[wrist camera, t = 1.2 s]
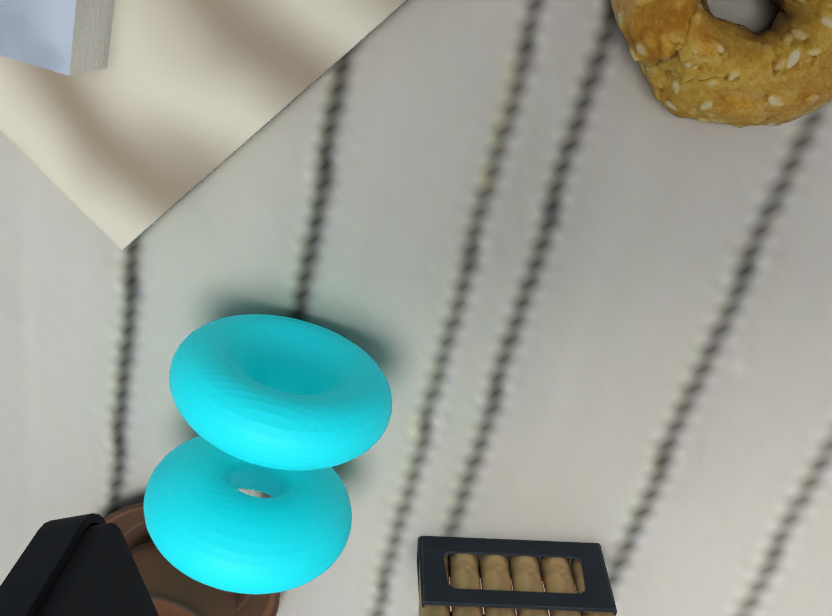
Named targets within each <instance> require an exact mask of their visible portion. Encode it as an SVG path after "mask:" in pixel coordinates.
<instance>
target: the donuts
mask: <svg viewBox="0 0 832 616" xmlns="http://www.w3.org/2000/svg"><path fill="white" fill-rule="evenodd" d="M169 378H170V389H171V393H172V396H173V399H174V402H175V404H176V407H177V408H178V410H179V412H180V413H181V415H182V416H183V418H184V419H185V420H186V422H187V423H188V424H189V425H190V426H191V428H192V429H193V430H194V431H195V432H196V433H198V434H199V435H200V436H197V437H194V438H192V439H190V440H188V441H186V442H184V443H183V444H181V445H180V446H178V447H176V448H175V449H174V450H172V451H171V452H170V453H169V454H167V455H166V457H165V458H164V459H163V460H162V461H161V462H160V463H159V464H158V466H157V467H156V468H155V470H154V471H153V473H152V475H151V477H150V479H149V482H148V484H147V487H146V491H145V497H144V517H145V523H146V526H147V530H148V532H149V534H150V537H151V538H152V540H153V542H154V544H155V545H156V547H157V549H158V550H159V551H160V552H161V554H162V555H163V556H164V557H165V558H166V559H167V560H168V561H169V562H170V563H171V564H172V565H173V566H174V567H175V568H177V569H178V570H179V571H181V572H182V573H184V574H185V575H187V576H189V577H190V578H192V579H194V580H196V581H198V582H201V583H203V584H205V585H208V586H211V587H214V588H217V589H221V590H224V591H229V592H235V593H243V594H269V593H277V592H282V591H286V590H290V589H293V588H296V587H299V586H301V585H304V584H306V583H308V582H310V581H311V580H313V579H315V578H316V577H318V576H319V575H321V574H322V573H324V572H325V571H326V570H327V569H328V568H329V567H330V566H331V565H332V564H333V563H334V562H335V561H336V559H337V558H338V557H339V555H340V554H341V552H342V551H343V549H344V547H345V545H346V543H347V540H348V537H349V534H350V530H351V521H352V511H351V505H350V500H349V496H348V493H347V490H346V488H345V486H344V484H343V482H342V481H341V479H340V477H339V476H338V474H337V473H336V471H335V470H334V469H333V468H332V467H333V466H337V465H340V464H343V463H345V462H348V461H350V460H352V459H354V458H356V457H358V456H360V455H362V454H363V453H365V452H366V451H367V450H369V449H370V448H371V447H372V446H373V445H374V444H375V443H376V442H377V441H378V440H379V439H380V437H381V436H382V434H383V433H384V431H385V429H386V428H387V425H388V423H389V420H390V416H391V412H392V395H391V391H390V387H389V384H388V381H387V379H386V377H385V375H384V373H383V372H382V370H381V368H380V367H379V366H378V365H377V363H376V362H375V361H374V360H373V359H372V358H371V357H370V356H369V355H368V354H367V353H366V352H365V351H364V350H363V349H361V348H360V347H359V346H357V345H356V344H354V343H353V342H351V341H350V340H348V339H346V338H345V337H343V336H341V335H339V334H337V333H335V332H333V331H331V330H329V329H326V328H324V327H321V326H318V325H315V324H312V323H309V322H306V321H302V320H298V319H294V318H289V317H284V316H276V315H266V314H247V315H236V316H230V317H225V318H221V319H218V320H215V321H212V322H210V323H208V324H206V325H203V326H201V327H200V328H198V329H196V330H195V331H193V332H192V333H191V334H190V335H189V336H188V337H187V338H186V339H185V340H184V341H183V342H182V343H181V344H180V346H179V347H178V349H177V351H176V353H175V355H174V357H173V359H172V363H171V367H170V375H169ZM237 488H242V489H252V490H257V491H260V492H263V493H266V494H268V495H271V496H272V498H259V497H254V496H250V495H247V494H244V493H242V492H240V491H239V490H237Z"/></svg>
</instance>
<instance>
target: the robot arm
mask: <svg viewBox="0 0 832 616" xmlns="http://www.w3.org/2000/svg"><path fill="white" fill-rule="evenodd" d="M0 616H159V615H158V613H157V610H156V608H155V606H154V604H153V601H152V599H151V597H150V595H149V592H148V590H147V588H146V586H145V583H144V581H143V579H142V577H141V574H140V572H139V570H138V568H137V565H136V563H135V561H134V559H133V556H132V554H131V552H130V550H129V547H128V545H127V543H126V541H125V538H124V536H123V534H122V532H121V530H120V528H119V527H118V526H117V525H116V524H115V523H106V521H105V519H104V518H103V517H101V516H100V515H99V514H94V513H92V514H86V515H81V516H75V517H69V518H63V519H57V520H51V521H49V522H46V523H44V524H43V526H42V527H41V528H40V529H39V530H38V531H37V533H36V534H35V536H34V537H33V539H32V540H31V542H30V543H29V545H28V546H27V548H26V549H25V551H24V552H23V554H22V555H21V556H20V558H19V559H18V561H17V562H16V564H15V565H14V567H13V568H12V570H11V571H10V573H9V574H8V576H7V577H6V579H5V580H4V582H3V583H2V584H1V586H0Z"/></svg>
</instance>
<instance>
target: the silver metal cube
mask: <svg viewBox="0 0 832 616" xmlns="http://www.w3.org/2000/svg"><path fill="white" fill-rule="evenodd" d="M114 3H115V0H0V56H3V57H7V58H10V59H14V60H17V61H20V62H24V63H27V64H31V65H34V66H38V67H41V68H44V69H48V70H51V71H55V72H58V73H62V74H65V75H68V76H70V75H75V74H80V73H85V72H90V71H95V70H101V69H106V68H107V64H108V55H109V46H110V37H111V29H112V20H113V11H114Z"/></svg>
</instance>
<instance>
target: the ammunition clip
mask: <svg viewBox="0 0 832 616" xmlns="http://www.w3.org/2000/svg"><path fill="white" fill-rule="evenodd" d="M417 572H418V590H419V616H516V612H515V608H516V611H517V616H549V614H548V610H549V612H550V616H616V613H617V609H616V605H615V601H614V597H613V593H612V589H611V586H610V582H609V578H608V574H607V570H606V566H605V562H604V558H603V554H602V550H601V546H600V545H599V543H580V542H556V541H532V540H508V539H485V538H461V537H437V536H421V537H420V538H418V550H417ZM449 577H450V584H449ZM480 578H481V584H482V590H481V586H480ZM511 579H512V584H511ZM542 581H543V583H542ZM543 584H544V588H545V592H544V588H543ZM512 585H513V591H512ZM575 587H576V588H575ZM576 591H577V592H576ZM450 606H451V607H452V612H451V611H450ZM482 607H484V613H485V614H483V608H482Z"/></svg>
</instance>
